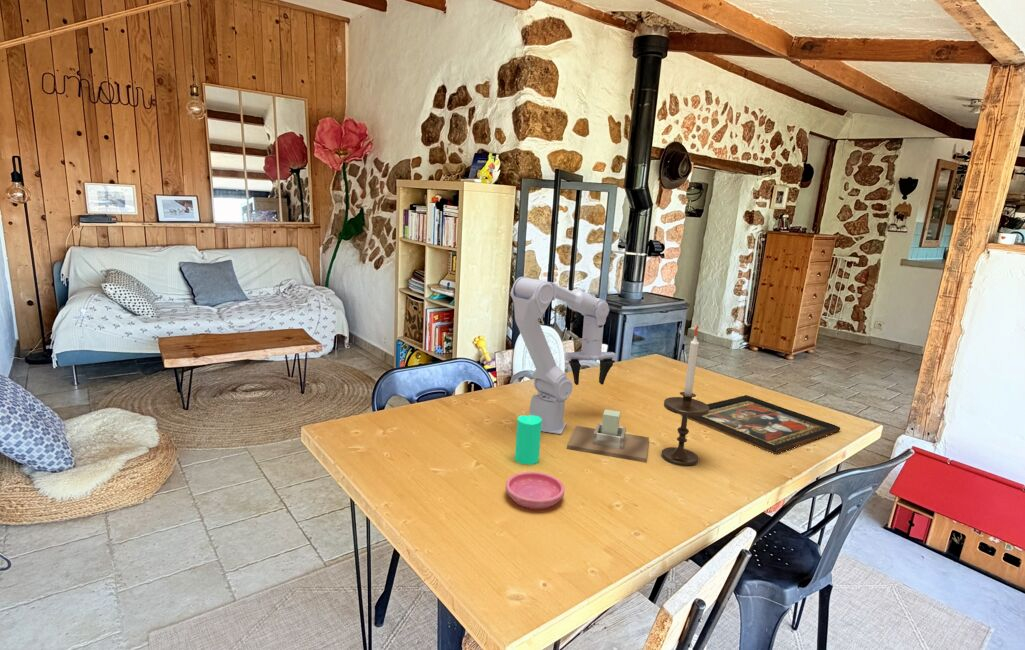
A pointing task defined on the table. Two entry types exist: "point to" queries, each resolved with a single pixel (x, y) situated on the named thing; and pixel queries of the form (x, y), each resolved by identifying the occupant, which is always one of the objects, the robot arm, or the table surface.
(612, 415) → the rectangular block
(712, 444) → the table surface
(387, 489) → the table surface
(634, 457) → the brown socket board
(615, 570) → the table surface
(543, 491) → the saucer
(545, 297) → the robot arm
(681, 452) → the candlestick
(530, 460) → the green upright cylinder
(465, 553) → the table surface
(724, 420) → the religious icon
